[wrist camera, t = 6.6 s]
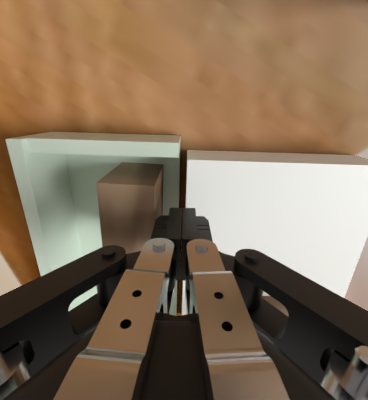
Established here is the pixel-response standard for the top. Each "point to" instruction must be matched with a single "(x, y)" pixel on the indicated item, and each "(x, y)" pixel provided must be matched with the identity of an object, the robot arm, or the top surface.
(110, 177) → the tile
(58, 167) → the box
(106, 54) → the top surface
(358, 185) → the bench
